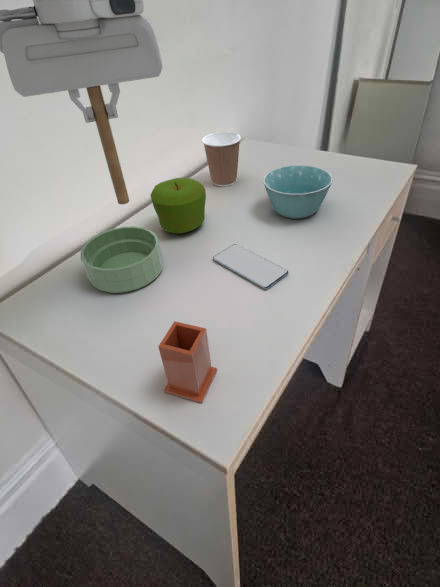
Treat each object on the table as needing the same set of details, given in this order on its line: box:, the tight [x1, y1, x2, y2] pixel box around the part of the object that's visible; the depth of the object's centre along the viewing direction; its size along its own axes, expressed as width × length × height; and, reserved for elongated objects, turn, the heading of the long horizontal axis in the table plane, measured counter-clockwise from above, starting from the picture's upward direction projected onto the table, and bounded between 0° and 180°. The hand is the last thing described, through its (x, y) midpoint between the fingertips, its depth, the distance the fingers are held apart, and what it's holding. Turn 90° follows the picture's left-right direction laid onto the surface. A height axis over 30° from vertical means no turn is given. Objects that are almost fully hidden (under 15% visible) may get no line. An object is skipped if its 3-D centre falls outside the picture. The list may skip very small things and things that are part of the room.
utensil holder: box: [157, 320, 218, 404], centre depth 52 cm, size 6×6×10 cm
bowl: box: [262, 164, 333, 220], centre depth 88 cm, size 16×16×8 cm
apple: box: [150, 177, 207, 234], centre depth 85 cm, size 12×12×11 cm
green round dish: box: [79, 225, 164, 294], centre depth 75 cm, size 15×15×6 cm
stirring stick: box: [85, 85, 130, 205], centre depth 58 cm, size 2×2×18 cm
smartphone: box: [212, 243, 289, 290], centre depth 74 cm, size 7×1×15 cm
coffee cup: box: [201, 131, 242, 187], centre depth 102 cm, size 10×10×12 cm
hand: (102, 119), depth 55 cm, fingers closed on stirring stick, 2 cm apart
